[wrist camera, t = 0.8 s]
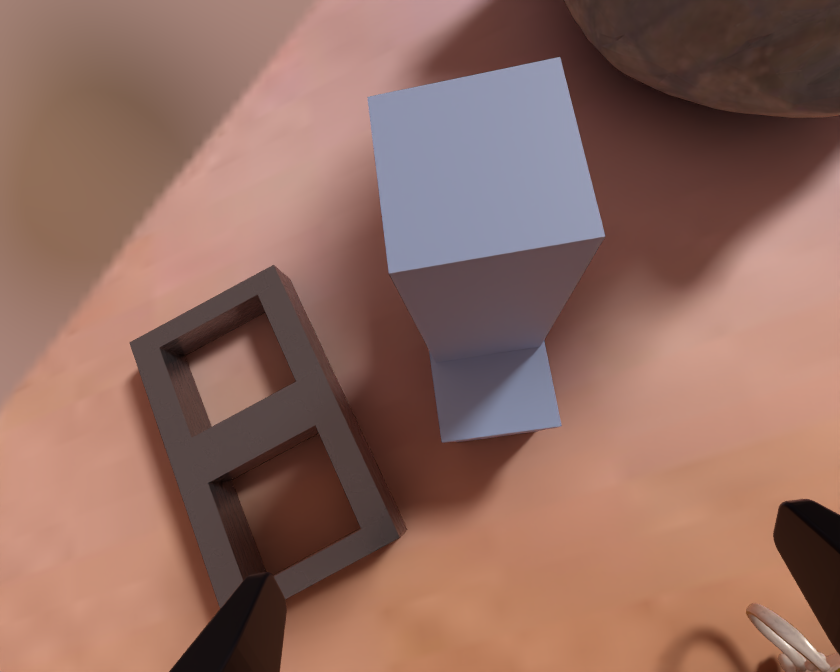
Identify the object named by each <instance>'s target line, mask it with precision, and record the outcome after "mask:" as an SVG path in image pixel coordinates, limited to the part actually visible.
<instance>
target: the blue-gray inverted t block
mask: <svg viewBox="0 0 840 672" xmlns="http://www.w3.org/2000/svg"><path fill="white" fill-rule="evenodd" d="M368 106H369V114H370V122H371V131H372V139H373V147H374V155H375V164H376V172H377V180H378V189H379V197H380V205H381V213H382V222H383V230H384V238H385V247H386V255H387V263H388V271H389V275H390V277H391V279H392V281H393V283H394V284H395V286H396V288H397V290H398V292H399V294H400V296H401V298H402V300H403V301H404V303H405V305H406V307H407V309H408V311H409V313H410V315H411V317H412V319H413V320H414V322H415V324H416V326H417V328H418V330H419V332H420V334H421V336H422V337H423V339H424V341H425V343H426V345H427V347H428V349H429V355H430V362H431V369H432V376H433V384H434V391H435V398H436V405H437V413H438V420H439V427H440V434H441V442H443V443H446V442H454V441H455V442H463V441H471V440H478V439H486V438H493V437H500V436H508V435H515V434H522V433H530V432H537V431H540V430H544V429H549V428H556V427H560V426H562V425H561V420H560V416H559V411H558V406H557V401H556V396H555V391H554V386H553V381H552V376H551V371H550V366H549V361H548V356H547V352H546V347H545V342H544V339H545V338H546V336H547V334H548V333H549V331H550V329H551V327H552V326H553V324H554V322H555V321H556V319H557V317H558V316H559V314H560V312H561V311H562V309H563V307H564V305H565V304H566V302H567V300H568V299H569V297H570V295H571V294H572V292H573V290H574V289H575V287H576V285H577V283H578V282H579V280H580V278H581V277H582V275H583V273H584V272H585V270H586V268H587V267H588V265H589V263H590V261H591V260H592V258H593V256H594V255H595V253H596V251H597V250H598V248H599V246H600V245H601V243H602V241H603V239H604V238H605V233H604V229H603V225H602V221H601V217H600V213H599V209H598V205H597V201H596V197H595V193H594V189H593V185H592V181H591V177H590V173H589V170H588V166H587V162H586V158H585V154H584V150H583V146H582V142H581V138H580V134H579V130H578V126H577V122H576V118H575V114H574V110H573V106H572V102H571V98H570V94H569V90H568V86H567V82H566V78H565V74H564V70H563V66H562V62H561V58H560V57H557V58H552V59H548V60H543V61H538V62H533V63H528V64H524V65H519V66H514V67H509V68H504V69H500V70H495V71H490V72H485V73H480V74H476V75H471V76H466V77H461V78H456V79H452V80H447V81H442V82H437V83H432V84H428V85H423V86H418V87H413V88H408V89H404V90H399V91H394V92H389V93H384V94H379V95H375V96H370V97H368Z"/></svg>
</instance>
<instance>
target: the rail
mask: <svg viewBox="0 0 840 672" xmlns="http://www.w3.org/2000/svg"><path fill="white" fill-rule="evenodd" d="M265 312H266V314H267V317H268V319H269V321H270V323H271V326H272V328H273V330H274V332H275V335H276V337H277V339H278V342H279V344H280V346H281V348H282V351H283V353H284V355H285V357H286V360H287V362H288V364H289V366H290V369H291V371H292V373H293V375H294V378H295V380H296V382H294V383H292V384H291V385H289V386H287V387H285V388H283V389H281V390H280V391H278V392H276V393H274V394H272V395H270V396H268V397H267V398H265V399H263V400H261V401H259V402H257V403H255V404H254V405H252V406H250V407H248V408H246V409H244V410H242V411H241V412H239V413H237V414H235V415H233V416H231V417H229V418H228V419H226V420H224V421H222V422H220V423H218V424H216V425H215V426H213V427H211V424H210V421H209V419H208V416H207V413H206V411H205V408H204V405H203V403H202V400H201V397H200V395H199V392H198V389H197V387H196V384H195V381H194V379H193V376H192V373H191V371H190V368H189V365H188V363H187V360H186V357H185V355H187V354H188V353H190V352H192V351H194V350H196V349H198V348H200V347H201V346H203V345H205V344H207V343H209V342H211V341H213V340H214V339H216V338H218V337H220V336H222V335H224V334H226V333H227V332H229V331H231V330H233V329H235V328H237V327H239V326H240V325H242V324H244V323H246V322H248V321H250V320H252V319H253V318H255V317H257V316H259V315H261V314H263V313H265ZM130 346H131V349H132V352H133V355H134V357H135V360H136V363H137V366H138V369H139V372H140V375H141V378H142V381H143V384H144V387H145V390H146V393H147V396H148V399H149V401H150V404H151V407H152V410H153V413H154V416H155V419H156V422H157V425H158V428H159V431H160V434H161V437H162V440H163V442H164V445H165V448H166V451H167V454H168V457H169V460H170V463H171V466H172V469H173V472H174V475H175V478H176V481H177V484H178V486H179V489H180V492H181V495H182V498H183V501H184V504H185V507H186V510H187V513H188V516H189V519H190V522H191V525H192V527H193V530H194V533H195V536H196V539H197V542H198V545H199V548H200V551H201V554H202V557H203V560H204V563H205V566H206V569H207V571H208V574H209V577H210V580H211V583H212V586H213V589H214V592H215V595H216V598H217V601H218V604H219V607H220V608H221V607H222V606H223V605H224V604H225V602H226V601H227V600H228V599H229V597H230V596H231V595H232V594H233V592H234V591H235V590H236V589H237V588H238V586H239V585H240V584H241V583H242V581H243V580H244V579H245V578H246V577H247V576H249V575H251V574H256V573H263V572H266V571H265V568H264V565H263V563H262V560H261V557H260V555H259V552H258V549H257V547H256V544H255V541H254V539H253V536H252V533H251V531H250V528H249V525H248V523H247V520H246V517H245V515H244V512H243V509H242V507H241V504H240V501H239V499H238V496H237V493H236V491H235V488H234V485H233V483H232V479H234V478H236V477H238V476H240V475H242V474H243V473H245V472H247V471H249V470H251V469H253V468H254V467H256V466H258V465H260V464H262V463H264V462H266V461H267V460H269V459H271V458H273V457H275V456H277V455H279V454H280V453H282V452H284V451H286V450H288V449H290V448H292V447H293V446H295V445H297V444H299V443H301V442H303V441H305V440H306V439H308V438H310V437H312V436H314V435H316V434H318V433H319V434H320V437H321V439H322V441H323V443H324V446H325V448H326V450H327V452H328V455H329V457H330V459H331V462H332V464H333V466H334V468H335V471H336V473H337V475H338V477H339V480H340V482H341V484H342V486H343V489H344V491H345V493H346V495H347V498H348V500H349V502H350V505H351V507H352V509H353V511H354V514H355V516H356V518H357V520H358V523H359V525H360V527H361V528H360V529H358V530H356V531H354V532H352V533H351V534H349V535H347V536H345V537H343V538H341V539H339V540H338V541H336V542H334V543H332V544H330V545H328V546H326V547H325V548H323V549H321V550H319V551H317V552H315V553H313V554H312V555H310V556H308V557H306V558H304V559H302V560H300V561H299V562H297V563H295V564H293V565H291V566H289V567H287V568H286V569H284V570H282V571H280V572H278V573H276V574H274V575H273V576H274V578H275V580H276V582H277V584H278V586H279V587H280V589H281V591H282V593H283V595H284V597H285V599H287V598H289V597H291V596H292V595H294V594H296V593H298V592H300V591H302V590H304V589H305V588H307V587H309V586H311V585H313V584H315V583H317V582H318V581H320V580H322V579H324V578H326V577H328V576H329V575H331V574H333V573H335V572H337V571H339V570H341V569H342V568H344V567H346V566H348V565H350V564H352V563H354V562H355V561H357V560H359V559H361V558H363V557H365V556H367V555H368V554H370V553H372V552H374V551H376V550H378V549H380V548H381V547H383V546H385V545H387V544H389V543H391V542H393V541H394V540H396V539H398V538H400V537H401V536H402V535H403V533H404V532H405V531H406V530H407V528H406V526H405V523H404V521H403V519H402V517H401V515H400V513H399V511H398V509H397V506H396V504H395V502H394V500H393V498H392V496H391V494H390V491H389V489H388V487H387V485H386V483H385V481H384V479H383V477H382V474H381V472H380V470H379V468H378V466H377V464H376V462H375V459H374V457H373V455H372V453H371V451H370V449H369V447H368V445H367V442H366V440H365V438H364V436H363V434H362V432H361V430H360V427H359V425H358V423H357V421H356V419H355V417H354V415H353V413H352V410H351V408H350V406H349V404H348V402H347V400H346V398H345V395H344V393H343V391H342V389H341V387H340V385H339V383H338V381H337V378H336V376H335V374H334V372H333V370H332V368H331V366H330V364H329V361H328V359H327V357H326V355H325V353H324V351H323V349H322V346H321V344H320V342H319V340H318V338H317V336H316V334H315V332H314V329H313V327H312V325H311V323H310V321H309V319H308V317H307V314H306V312H305V310H304V308H303V306H302V304H301V302H300V300H299V297H298V295H297V293H296V291H295V289H294V287H293V285H292V282H291V280H290V279H289V278H288V277H287V276H286V275H285V274H283V273H282V272H281V271H280V270H279V269H278V268H277V267H276V266H274V265H272V266H271V267H269V268H267V269H265V270H263V271H261V272H259V273H258V274H256V275H254V276H252V277H250V278H248V279H247V280H245V281H243V282H241V283H239V284H237V285H235V286H234V287H232V288H230V289H228V290H226V291H224V292H222V293H221V294H219V295H217V296H215V297H213V298H211V299H209V300H208V301H206V302H204V303H202V304H200V305H198V306H196V307H195V308H193V309H191V310H189V311H187V312H185V313H183V314H182V315H180V316H178V317H176V318H174V319H172V320H170V321H169V322H167V323H165V324H163V325H161V326H159V327H158V328H156V329H154V330H152V331H150V332H148V333H146V334H145V335H143V336H141V337H139V338H137V339H135V340H133V341H132V342H130Z"/></svg>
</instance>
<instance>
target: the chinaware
mask: <svg viewBox="0 0 840 672" xmlns="http://www.w3.org/2000/svg"><path fill="white" fill-rule="evenodd" d="M746 614H747V616H748V618H749V619H750V621H751V622H752V623H753V624H754V626H755V627H756V628H757V629H758V630H759V631H760V632H761V633H762V634H763V635H764V636H765V637H766V638H767V639H768V640H769V641H771V642H772V643H773V644H774V645H775V646H776V647H778V648H779V649H780V650H781V651H782V652H783V654H779V655H778V660H779V663H780V665H781V667H782V668H783V670H784V671H785V672H840V655H839V654H838V652H837V653H834V654H831V655H829V656H826V657H825V655H824V654H822V653H821V652H818V651H817V650H816V649H815V648H814V647H813V646H812V645H811V643H810V642H809V641H808V640H807V639H806V638H805V637H804V636H803V635H802V634H801V633H800V632H799V631H798V630H797V629H796V628H795V627H794V626H793V625H791V624H790V623H789V622H788V621H786V620H785V619H783V618H782V617H781V616H779V615H778V614H776V613H775V612H773V611H772V610H770V609H768V608H766V607H764V606H762V605H760V604H757V603H752V604H750V605H749V606H748V607H747V608H746ZM796 650H797V651H798V652H797V651H796ZM800 653H801V654H802V655H803V656H804V657H805V658H806V659H805V658H804V657H803V656H802V655H801V654H800Z"/></svg>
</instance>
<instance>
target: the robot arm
mask: <svg viewBox="0 0 840 672" xmlns="http://www.w3.org/2000/svg"><path fill="white" fill-rule="evenodd" d="M773 537H774V542H775V545H776V548H777V550H778V551H779V553H780V555H781V557H782V558H783V560H784V562H785V564H786V565H787V567H788V569H789V571H790V572H791V574H792V576H793V578H794V579H795V581H796V583H797V585H798V586H799V588H800V590H801V592H802V593H803V595H804V597H805V599H806V600H807V602H808V604H809V606H810V607H811V609H812V611H813V612H814V614H815V616H816V618H817V619H818V621H819V623H820V625H821V626H822V628H823V630H824V631H825V633H826V635H827V636H828V638H829V640H830V641H831V643H832V645H833V646H834V648H835V649H836V651H837V652H838V654H839V655H840V515H839V514H837V513H835V512H833V511H832V510H830V509H828V508H826V507H824V506H822V505H821V504H819V503H817V502H815V501H812V500H809V499H799V500H792V501H785V502H783V503H781V504H780V506H779V509H778V514H777V518H776V523H775V528H774V533H773ZM286 611H287V606H286V600H285V597H284V595H283V593H282V591H281V589H280V587H279V586H278V584H277V582H276V580H275V578H274V576H273V575H272V574H271V573H269V572H263V573H256V574H251V575H249V576H247V577H246V578H245V579H244V580H243V581H242V583H241V584H240V585H239V586H238V588H237V589H236V590H235V591H234V592H233V594H232V595H231V596H230V597H229V599H228V600H227V601H226V602H225V604H224V605H223V606H222V607H221V608H220V610H219V611H218V612H217V613H216V615H215V616H214V617H213V618H212V620H211V621H210V622H209V623H208V624H207V626H206V627H205V628H204V629H203V631H202V632H201V633H200V634H199V636H198V637H197V638H196V639H195V641H194V642H193V643H192V644H191V645H190V647H189V648H188V649H187V650H186V652H185V653H184V654H183V655H182V657H181V658H180V659H179V660H178V661H177V663H176V664H175V665H174V666H173V668H172V669H171V670H170V671H169V672H280V664H281V656H282V647H283V638H284V629H285V621H286Z"/></svg>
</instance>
